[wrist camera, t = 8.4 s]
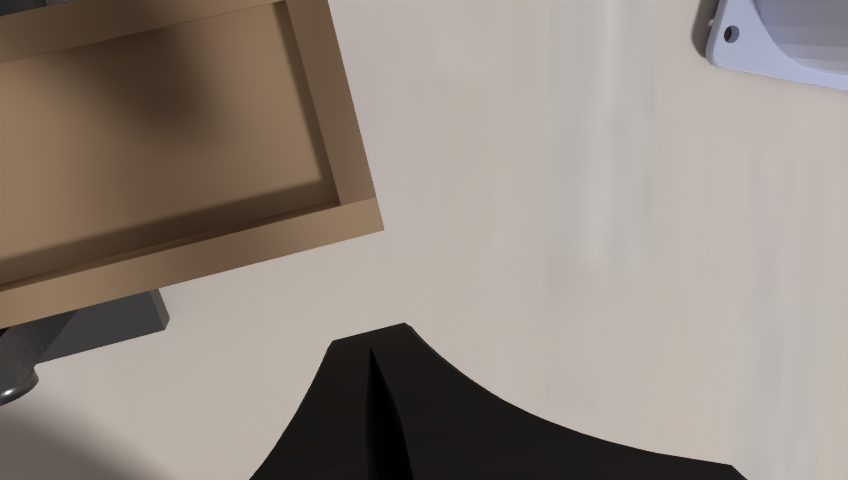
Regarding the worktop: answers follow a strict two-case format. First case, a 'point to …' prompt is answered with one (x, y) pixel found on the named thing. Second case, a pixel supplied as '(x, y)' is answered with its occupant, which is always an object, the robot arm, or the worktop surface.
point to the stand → (70, 317)
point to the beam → (169, 146)
